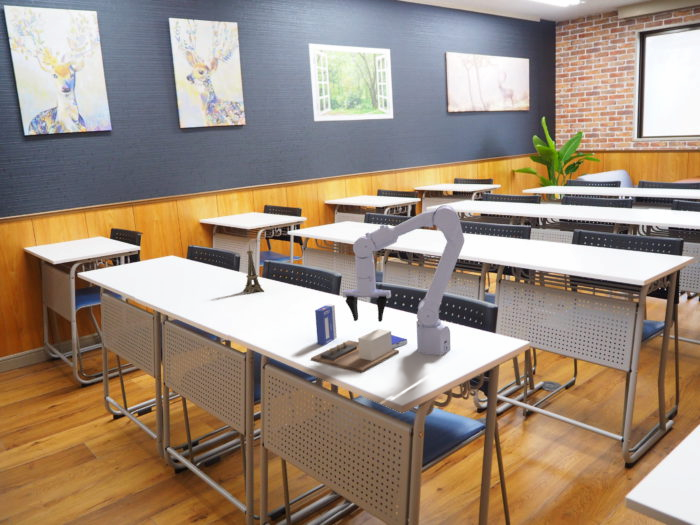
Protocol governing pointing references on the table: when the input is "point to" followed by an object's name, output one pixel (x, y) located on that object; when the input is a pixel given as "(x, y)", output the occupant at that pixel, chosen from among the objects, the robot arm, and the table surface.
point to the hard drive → (397, 341)
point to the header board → (350, 357)
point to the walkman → (325, 324)
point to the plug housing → (375, 344)
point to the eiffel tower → (252, 276)
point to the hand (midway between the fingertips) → (368, 320)
